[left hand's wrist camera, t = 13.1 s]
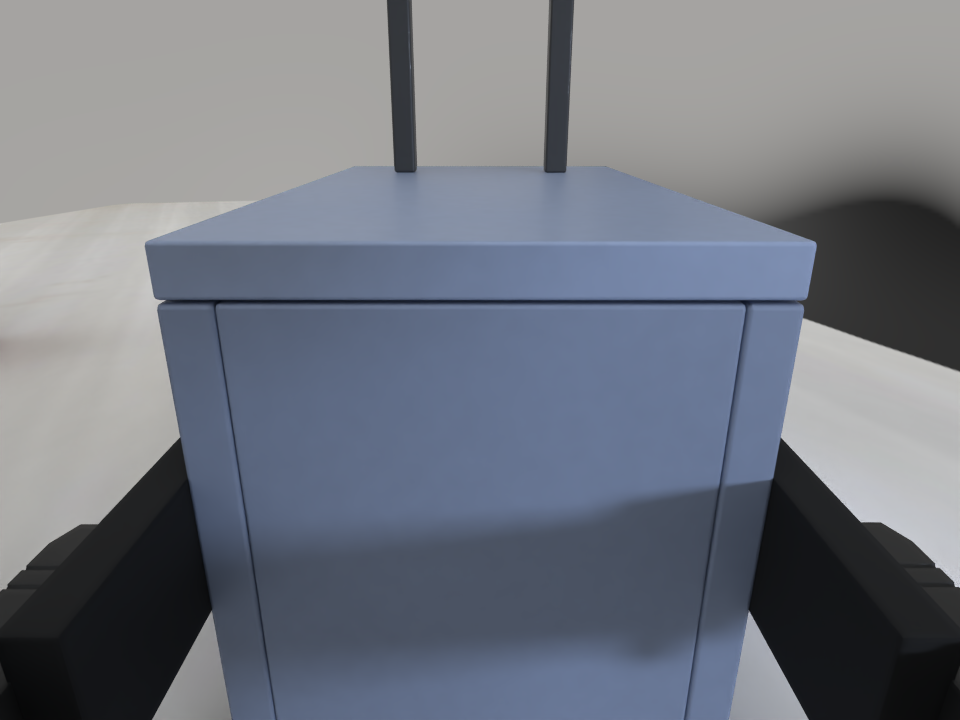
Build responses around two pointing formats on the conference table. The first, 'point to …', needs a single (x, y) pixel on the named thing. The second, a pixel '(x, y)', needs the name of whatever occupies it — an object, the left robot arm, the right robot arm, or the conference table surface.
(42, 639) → the left robot arm
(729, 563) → the chest
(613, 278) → the lid
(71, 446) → the conference table surface
